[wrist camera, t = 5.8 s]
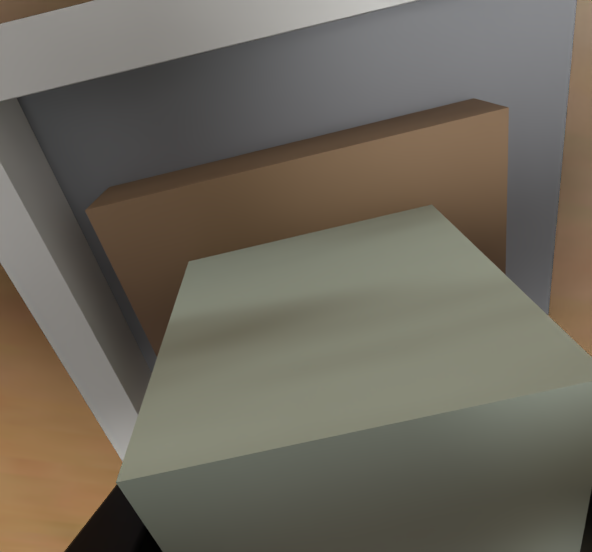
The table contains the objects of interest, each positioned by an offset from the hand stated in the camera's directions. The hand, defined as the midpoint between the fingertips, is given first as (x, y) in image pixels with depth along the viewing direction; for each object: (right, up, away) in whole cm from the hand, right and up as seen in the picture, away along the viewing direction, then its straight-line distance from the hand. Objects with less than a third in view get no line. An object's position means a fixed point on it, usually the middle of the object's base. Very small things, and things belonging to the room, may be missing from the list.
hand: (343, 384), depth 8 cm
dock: (0, +3, +5) cm, 6 cm away
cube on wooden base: (0, +2, +3) cm, 3 cm away
